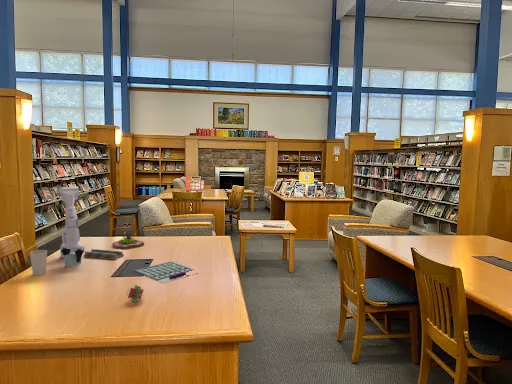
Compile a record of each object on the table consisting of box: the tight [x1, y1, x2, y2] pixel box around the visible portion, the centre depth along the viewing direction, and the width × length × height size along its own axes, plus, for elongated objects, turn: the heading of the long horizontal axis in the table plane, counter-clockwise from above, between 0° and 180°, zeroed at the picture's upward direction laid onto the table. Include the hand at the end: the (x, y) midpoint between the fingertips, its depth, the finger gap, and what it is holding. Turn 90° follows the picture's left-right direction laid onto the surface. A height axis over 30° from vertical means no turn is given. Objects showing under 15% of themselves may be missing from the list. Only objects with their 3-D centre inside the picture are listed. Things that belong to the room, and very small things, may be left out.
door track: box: [82, 248, 125, 261], centre depth 230 cm, size 22×10×3 cm, turn 76°
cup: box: [29, 249, 48, 277], centre depth 195 cm, size 8×8×12 cm
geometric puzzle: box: [126, 284, 145, 303], centre depth 160 cm, size 7×7×8 cm
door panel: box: [63, 252, 82, 269], centre depth 211 cm, size 10×3×7 cm, turn 166°
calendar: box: [134, 261, 195, 284], centre depth 202 cm, size 27×28×2 cm
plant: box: [112, 230, 145, 250], centre depth 259 cm, size 20×20×11 cm
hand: (73, 261), depth 211 cm, fingers open, 7 cm apart
